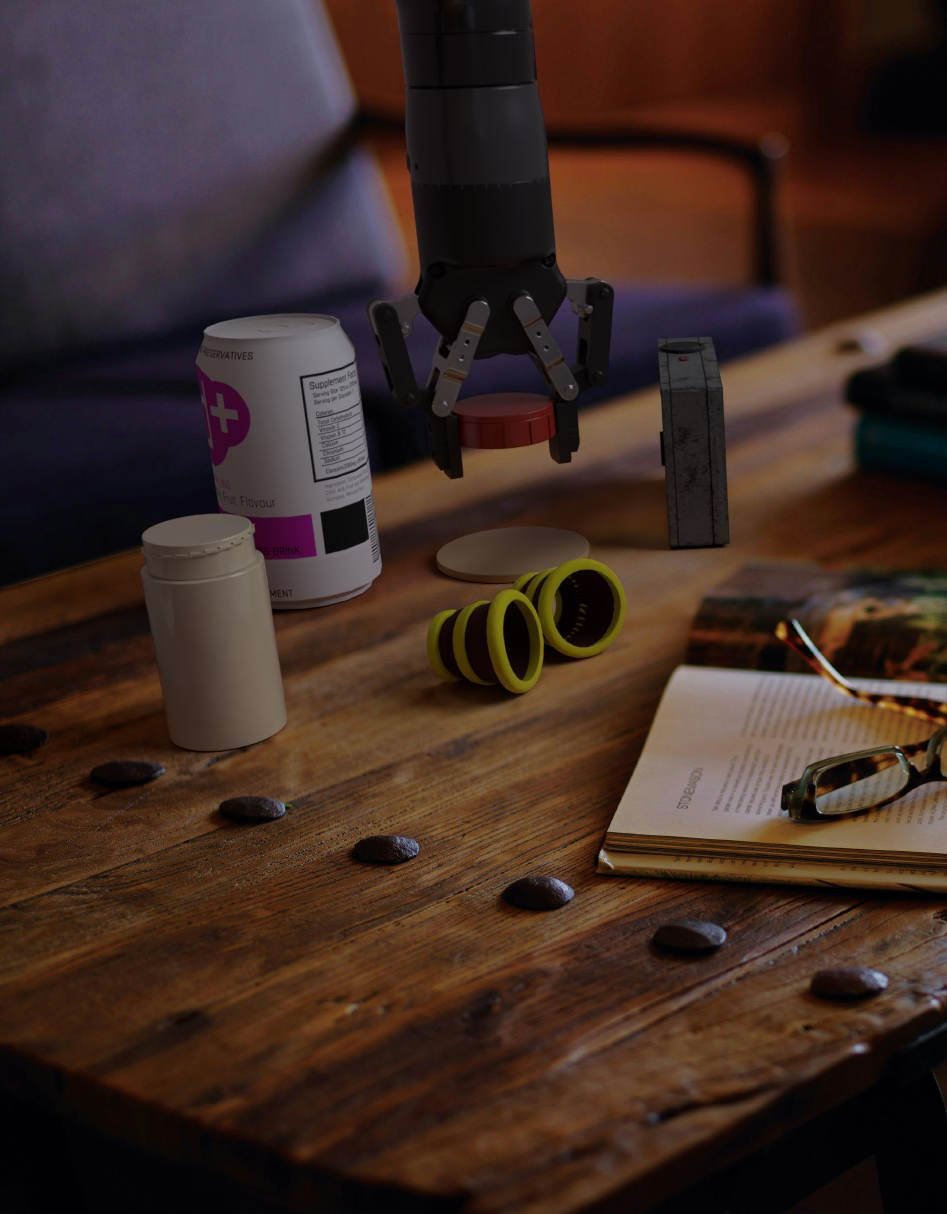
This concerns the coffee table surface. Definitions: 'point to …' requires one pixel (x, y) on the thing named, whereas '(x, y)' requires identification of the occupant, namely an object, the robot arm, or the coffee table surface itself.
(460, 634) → the opera glasses
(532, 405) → the jar lid
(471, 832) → the coffee table surface
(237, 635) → the jar
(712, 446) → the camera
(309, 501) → the supplement can
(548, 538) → the coaster
